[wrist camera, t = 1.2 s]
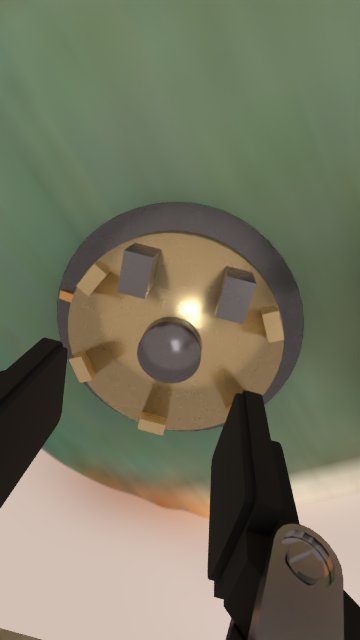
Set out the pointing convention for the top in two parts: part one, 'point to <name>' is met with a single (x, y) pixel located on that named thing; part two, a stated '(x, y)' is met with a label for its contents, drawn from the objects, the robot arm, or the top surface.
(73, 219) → the top surface
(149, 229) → the housing
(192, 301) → the round gold dish
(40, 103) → the top surface
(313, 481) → the top surface
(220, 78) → the top surface
